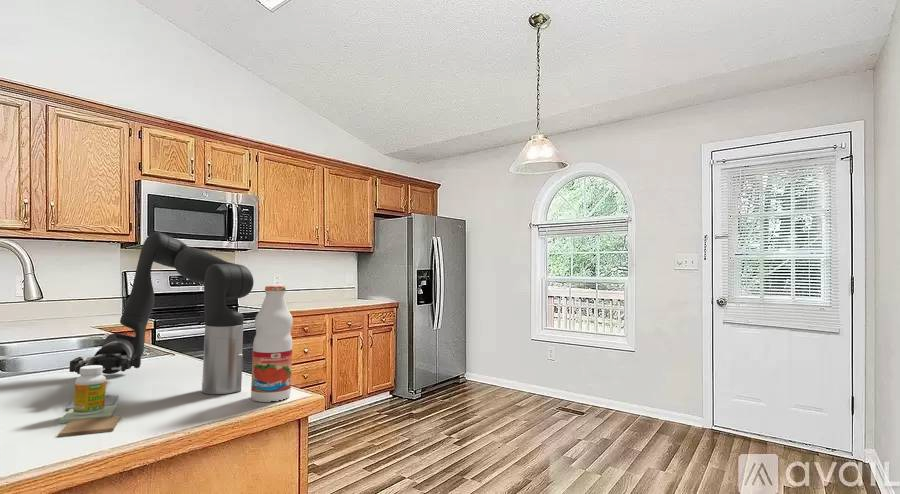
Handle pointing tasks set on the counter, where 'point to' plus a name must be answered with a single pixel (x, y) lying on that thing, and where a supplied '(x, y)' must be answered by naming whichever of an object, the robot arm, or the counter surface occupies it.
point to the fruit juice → (272, 348)
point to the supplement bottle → (89, 391)
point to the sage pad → (71, 416)
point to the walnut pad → (90, 426)
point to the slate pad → (108, 402)
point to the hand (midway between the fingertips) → (101, 368)
